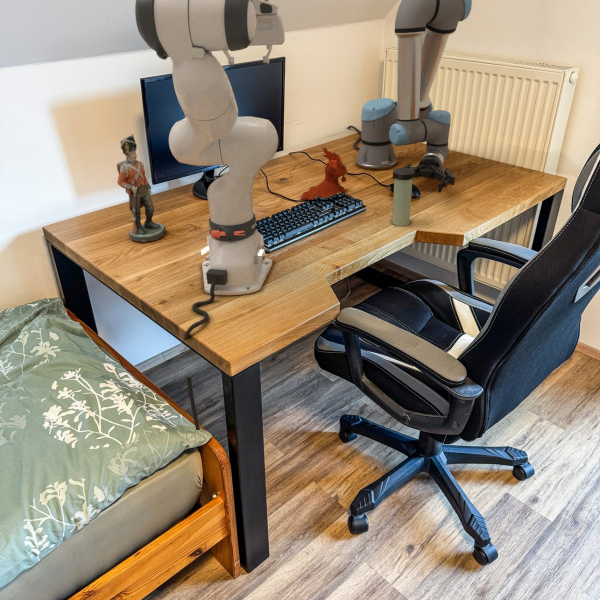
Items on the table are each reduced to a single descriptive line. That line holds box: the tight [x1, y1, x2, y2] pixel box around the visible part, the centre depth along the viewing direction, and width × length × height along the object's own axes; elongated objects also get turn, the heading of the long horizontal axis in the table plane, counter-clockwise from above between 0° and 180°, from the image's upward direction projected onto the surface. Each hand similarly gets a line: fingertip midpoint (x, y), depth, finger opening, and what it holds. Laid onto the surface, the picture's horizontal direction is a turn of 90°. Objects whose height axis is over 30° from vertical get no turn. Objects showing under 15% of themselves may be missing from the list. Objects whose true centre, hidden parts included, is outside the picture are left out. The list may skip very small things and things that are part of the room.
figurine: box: [116, 132, 166, 243], centre depth 161 cm, size 11×11×30 cm
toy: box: [300, 146, 348, 201], centre depth 188 cm, size 13×18×15 cm
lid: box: [392, 167, 415, 180], centre depth 162 cm, size 6×6×2 cm
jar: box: [391, 178, 413, 227], centre depth 166 cm, size 5×5×16 cm
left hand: (248, 63), depth 152 cm, fingers open, 8 cm apart
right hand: (418, 186), depth 178 cm, fingers open, 13 cm apart
